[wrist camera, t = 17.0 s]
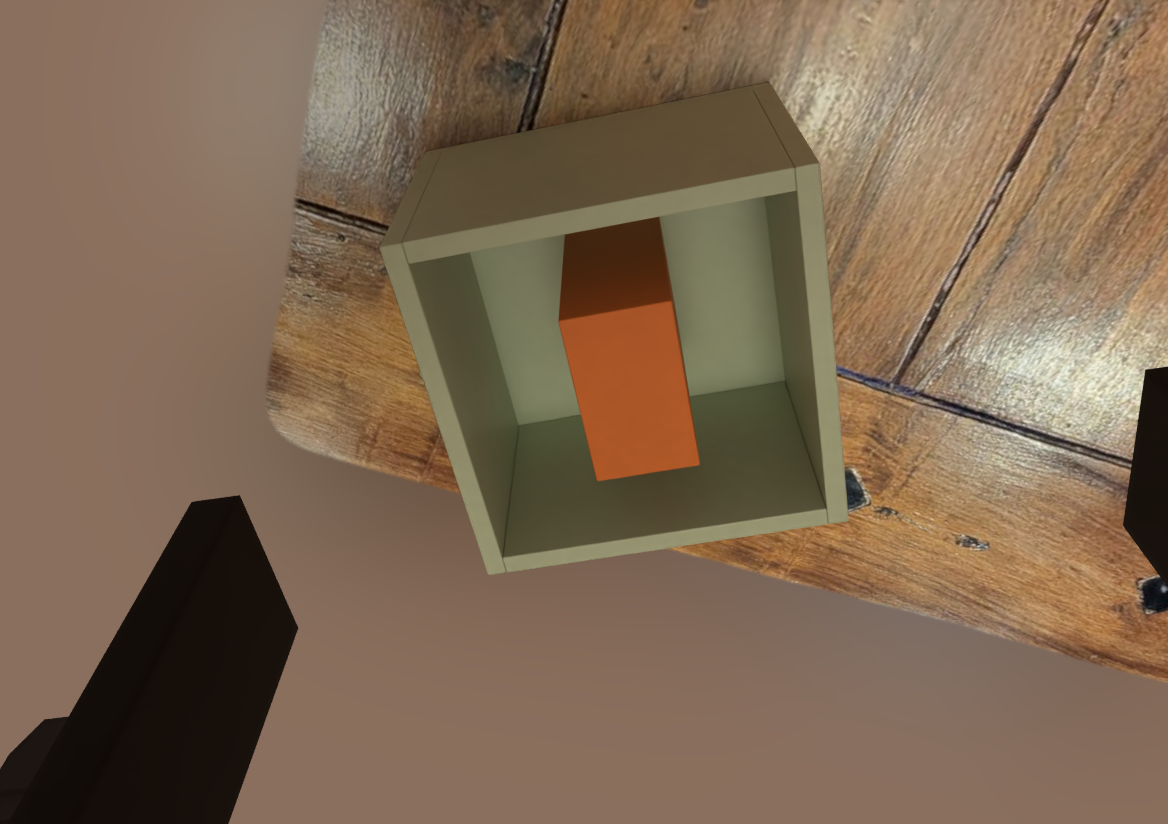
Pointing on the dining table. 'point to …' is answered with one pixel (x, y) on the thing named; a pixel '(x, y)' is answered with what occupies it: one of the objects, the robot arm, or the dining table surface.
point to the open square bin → (703, 307)
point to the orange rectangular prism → (626, 350)
